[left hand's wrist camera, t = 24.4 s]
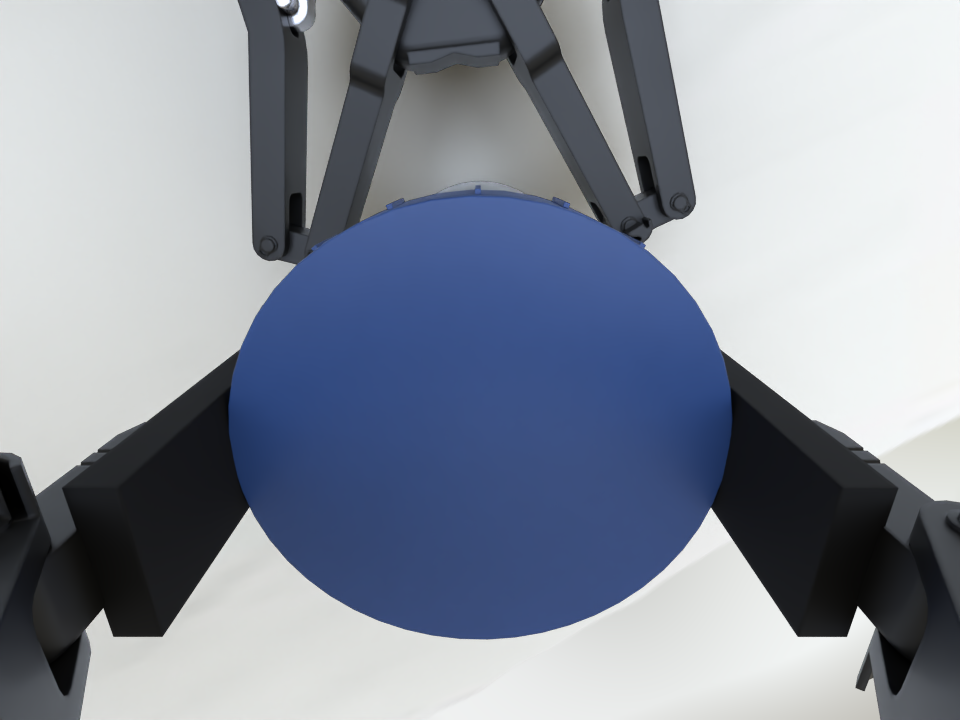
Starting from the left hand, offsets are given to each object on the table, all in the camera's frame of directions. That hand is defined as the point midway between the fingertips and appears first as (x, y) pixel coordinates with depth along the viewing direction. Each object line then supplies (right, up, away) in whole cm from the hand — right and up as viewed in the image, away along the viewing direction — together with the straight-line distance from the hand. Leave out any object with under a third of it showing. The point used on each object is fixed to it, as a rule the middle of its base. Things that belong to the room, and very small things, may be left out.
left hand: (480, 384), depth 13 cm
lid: (0, -1, -3) cm, 3 cm away
